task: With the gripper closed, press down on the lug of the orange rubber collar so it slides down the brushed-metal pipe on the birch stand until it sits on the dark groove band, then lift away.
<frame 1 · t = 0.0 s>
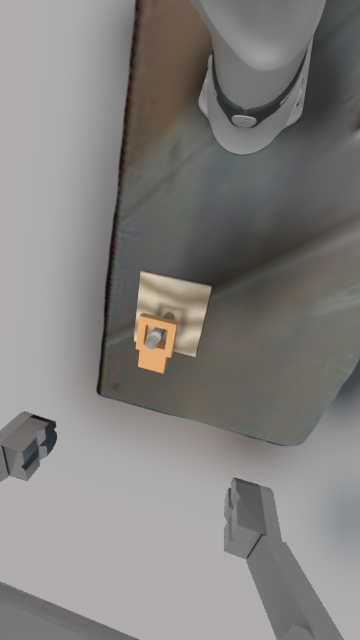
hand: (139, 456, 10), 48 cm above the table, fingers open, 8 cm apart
collar: (155, 344, 48), point 13 cm above the table, slide at 0.0 cm
pipe stand: (170, 314, 59), on the table
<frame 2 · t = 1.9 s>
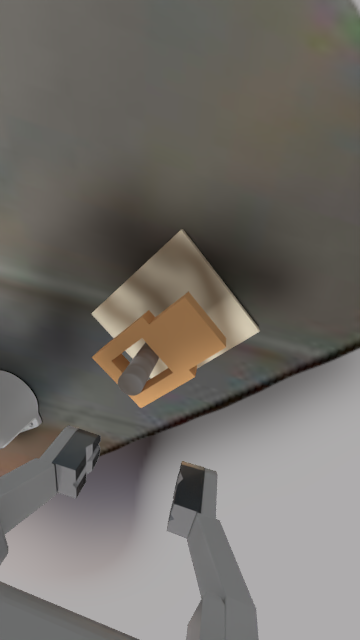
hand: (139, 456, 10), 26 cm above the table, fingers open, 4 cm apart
collar: (159, 351, 23), point 13 cm above the table, slide at 0.0 cm
pipe stand: (172, 318, 36), on the table
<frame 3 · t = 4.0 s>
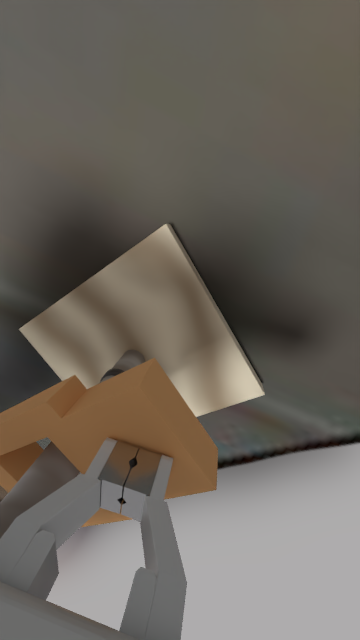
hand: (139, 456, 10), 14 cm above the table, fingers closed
collar: (88, 453, 12), point 13 cm above the table, slide at 0.4 cm, touching gripper
pipe stand: (139, 352, 24), on the table
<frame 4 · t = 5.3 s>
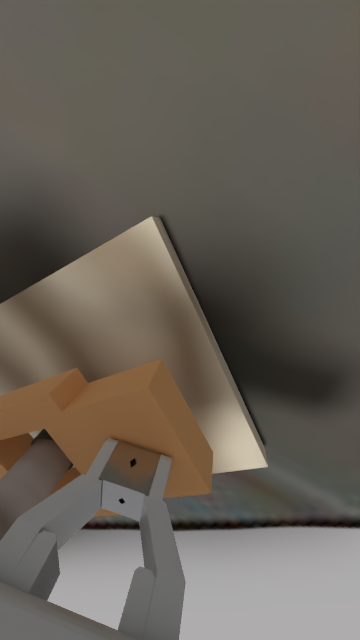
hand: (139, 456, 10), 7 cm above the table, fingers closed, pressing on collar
collar: (82, 446, 12), point 6 cm above the table, slide at 7.2 cm, touching gripper
pipe stand: (104, 387, 18), on the table
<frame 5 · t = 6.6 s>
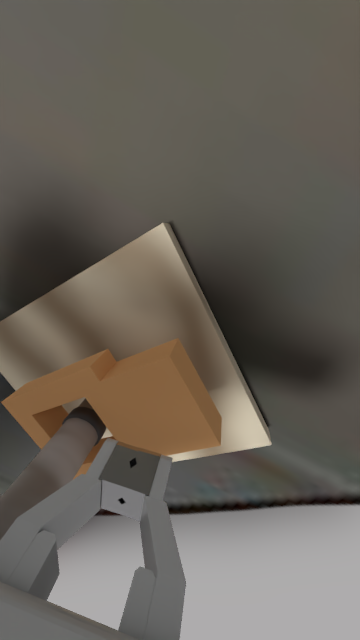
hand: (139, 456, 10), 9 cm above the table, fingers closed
collar: (112, 415, 14), point 5 cm above the table, slide at 7.9 cm
pipe stand: (120, 377, 20), on the table
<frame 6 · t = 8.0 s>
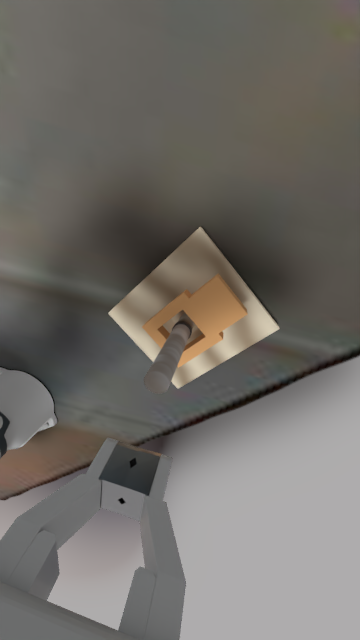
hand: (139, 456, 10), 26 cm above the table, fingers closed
collar: (194, 321, 30), point 5 cm above the table, slide at 7.9 cm
pipe stand: (189, 316, 36), on the table
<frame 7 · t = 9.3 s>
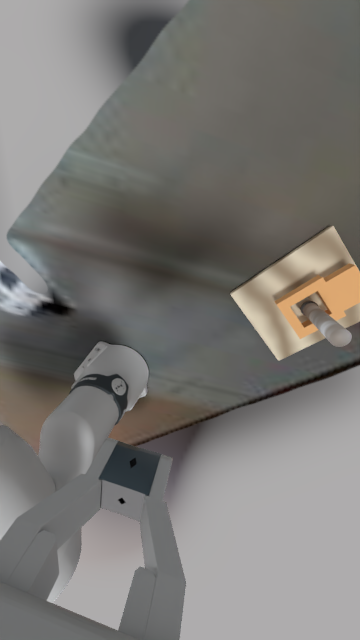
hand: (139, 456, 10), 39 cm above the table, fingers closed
collar: (321, 301, 38), point 5 cm above the table, slide at 7.9 cm
pipe stand: (300, 299, 43), on the table
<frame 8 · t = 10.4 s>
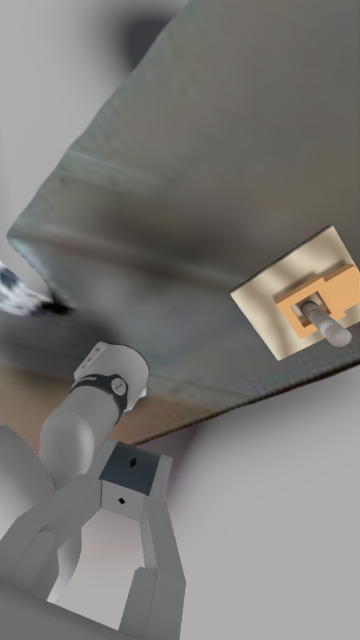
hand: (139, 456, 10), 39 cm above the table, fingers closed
collar: (321, 301, 38), point 5 cm above the table, slide at 7.9 cm
pipe stand: (299, 299, 43), on the table
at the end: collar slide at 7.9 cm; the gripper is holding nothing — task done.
